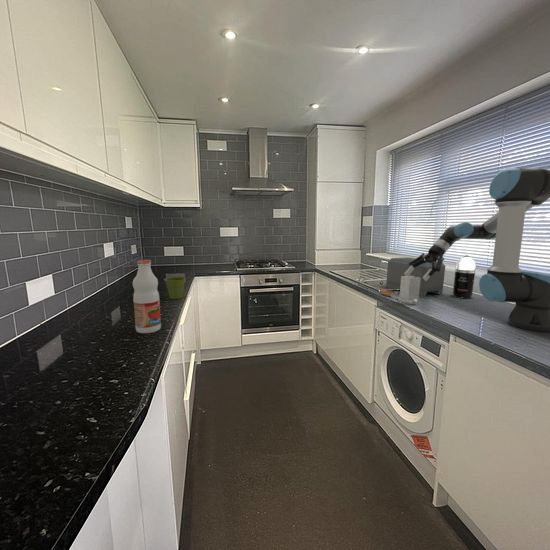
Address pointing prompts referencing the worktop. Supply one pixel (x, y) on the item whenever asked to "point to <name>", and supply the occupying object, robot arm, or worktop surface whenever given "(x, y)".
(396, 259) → the toaster
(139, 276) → the fruit juice
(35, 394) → the worktop surface
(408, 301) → the ratchet
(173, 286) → the plant pot
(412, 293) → the socket
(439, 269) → the robot arm
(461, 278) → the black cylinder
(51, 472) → the worktop surface
